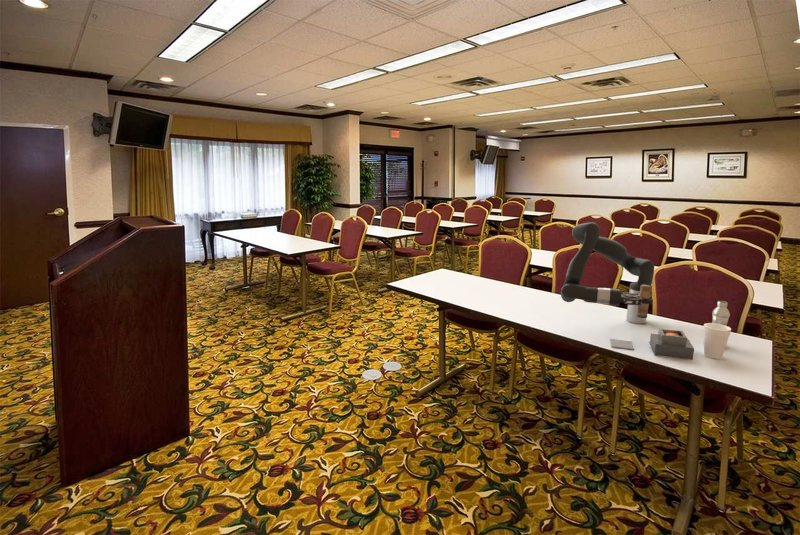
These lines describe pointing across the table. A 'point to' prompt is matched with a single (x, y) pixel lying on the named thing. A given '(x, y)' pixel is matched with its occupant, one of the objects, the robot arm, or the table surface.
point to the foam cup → (715, 339)
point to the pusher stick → (643, 308)
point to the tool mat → (621, 344)
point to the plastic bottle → (720, 313)
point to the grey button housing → (671, 344)
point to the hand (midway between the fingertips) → (651, 300)
